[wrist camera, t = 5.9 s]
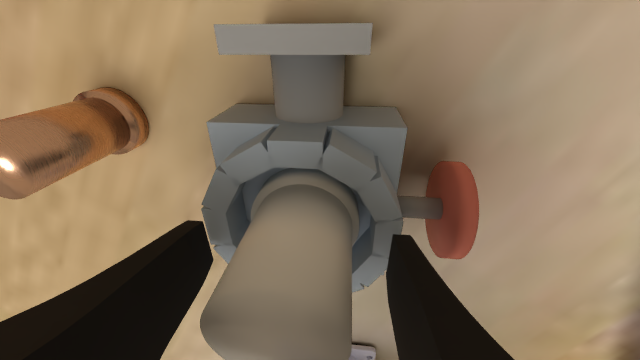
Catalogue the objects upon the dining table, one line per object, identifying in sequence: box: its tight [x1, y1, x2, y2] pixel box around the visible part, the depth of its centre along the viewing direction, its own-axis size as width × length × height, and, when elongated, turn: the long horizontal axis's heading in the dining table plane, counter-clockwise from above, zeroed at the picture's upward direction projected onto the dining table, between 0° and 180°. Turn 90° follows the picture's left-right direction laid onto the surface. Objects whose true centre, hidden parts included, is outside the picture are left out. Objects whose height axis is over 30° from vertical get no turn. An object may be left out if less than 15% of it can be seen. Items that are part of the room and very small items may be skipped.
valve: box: [201, 23, 479, 292], centre depth 13 cm, size 15×11×5 cm
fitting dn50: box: [200, 168, 359, 360], centre depth 10 cm, size 5×5×6 cm
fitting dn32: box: [0, 87, 149, 199], centre depth 12 cm, size 3×3×6 cm
